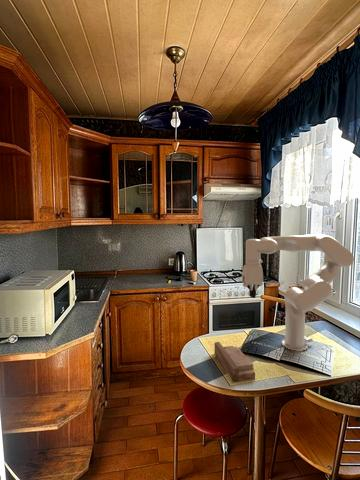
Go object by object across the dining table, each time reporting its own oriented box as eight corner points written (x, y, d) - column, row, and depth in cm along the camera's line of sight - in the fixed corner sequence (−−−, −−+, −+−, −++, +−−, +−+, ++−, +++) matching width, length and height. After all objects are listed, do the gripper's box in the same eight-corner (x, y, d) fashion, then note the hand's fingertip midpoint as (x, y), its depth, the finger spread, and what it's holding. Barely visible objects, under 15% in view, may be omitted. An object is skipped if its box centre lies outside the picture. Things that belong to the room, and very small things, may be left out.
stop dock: (232, 351, 138) (232, 340, 138) (255, 379, 115) (255, 365, 114) (214, 353, 136) (214, 342, 136) (233, 382, 113) (233, 369, 112)
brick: (254, 372, 120) (254, 363, 119) (237, 376, 117) (237, 366, 117) (236, 354, 136) (236, 345, 135) (221, 357, 133) (221, 348, 133)
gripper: (262, 260, 144) (262, 294, 145) (236, 262, 141) (236, 296, 142) (269, 263, 136) (269, 298, 138) (242, 264, 133) (242, 300, 135)
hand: (252, 297), depth 140 cm, fingers closed
